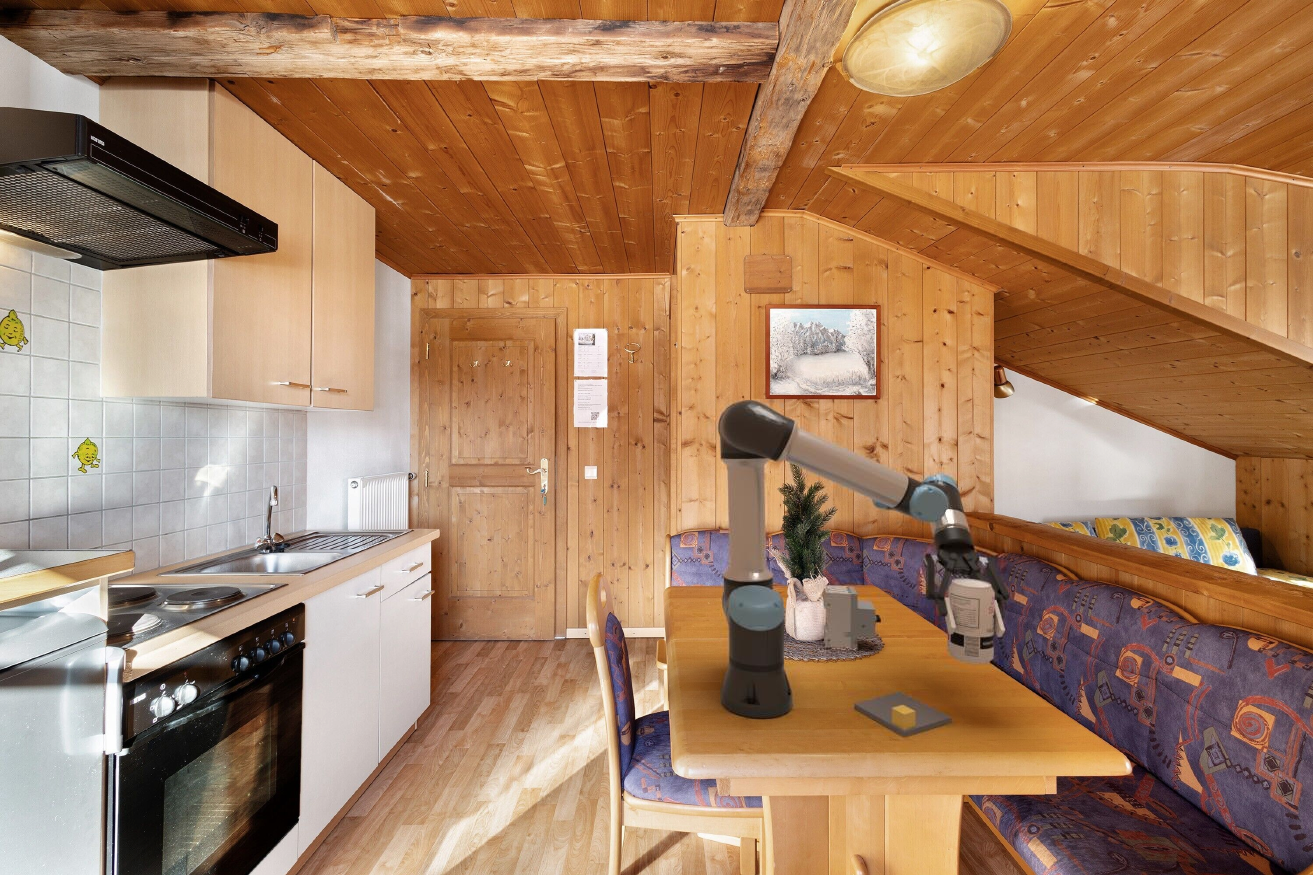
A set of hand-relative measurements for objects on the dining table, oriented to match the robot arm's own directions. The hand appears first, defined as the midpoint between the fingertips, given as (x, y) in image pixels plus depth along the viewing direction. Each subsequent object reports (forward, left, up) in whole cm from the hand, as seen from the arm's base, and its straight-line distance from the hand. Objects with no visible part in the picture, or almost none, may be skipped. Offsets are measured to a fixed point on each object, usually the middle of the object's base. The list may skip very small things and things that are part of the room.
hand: (976, 632), depth 118 cm
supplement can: (+2, +3, -6) cm, 7 cm away
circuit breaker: (+10, +44, -19) cm, 48 cm away
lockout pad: (-9, +10, -18) cm, 23 cm away
